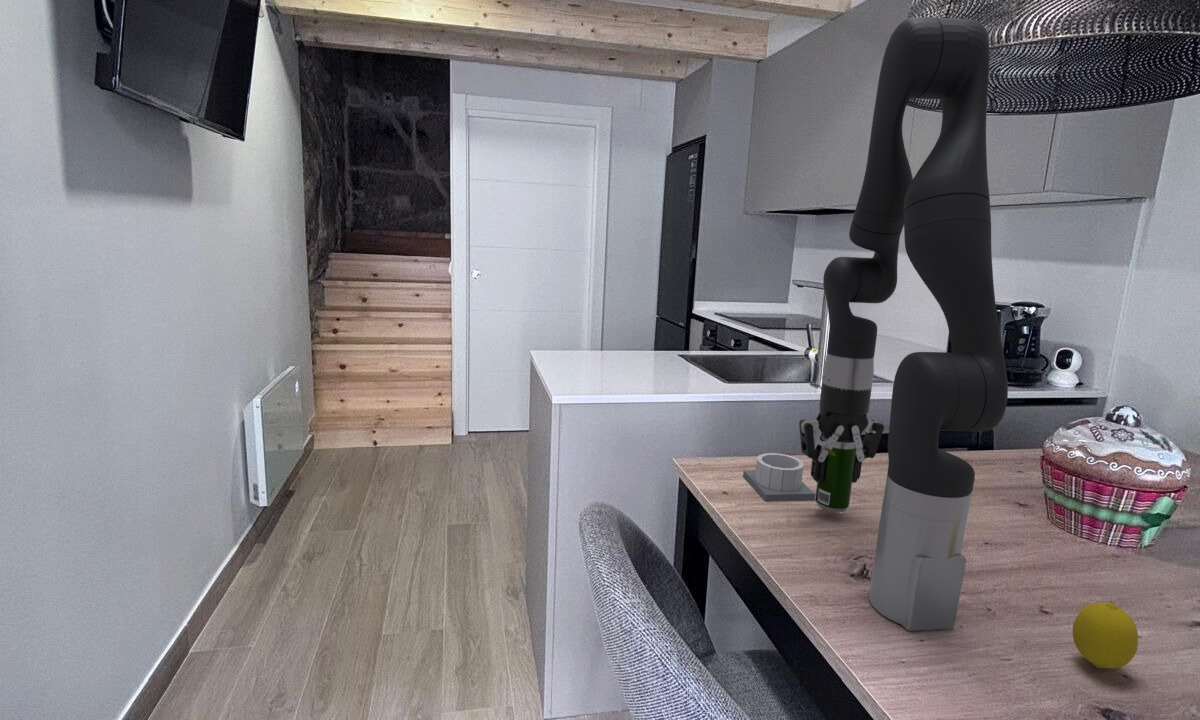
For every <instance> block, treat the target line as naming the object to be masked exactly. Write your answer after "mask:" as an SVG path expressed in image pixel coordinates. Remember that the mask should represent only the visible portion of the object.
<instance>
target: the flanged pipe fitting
mask: <svg viewBox="0 0 1200 720" xmlns="http://www.w3.org/2000/svg"><path fill="white" fill-rule="evenodd" d="M755 462H756V464H755V469H752V470H751V469H749V470H746V469H744V470H743V472H742V473H743V474H742V476H743V478H744V479H745V480H746V481H747V482H748V484H750V486H751V487H752V488H753V489H754V490H755V491H756V492H757V494H759V496H760V497H761V498H762V499H763V500H764V501H765V502H782V501H784V502H785V501H786V502H787V501H790V502H791V501H816V500H815V498H816V492H814V491H813V490H812V489H811V488H809V487H808V485H806V484H805V483H804V482H803V476H804V466H805V465H804V464H805V463H804V462H803V461H802V460H800V459H799V458H797V457H794V456H791V455H788V454H783V453H777V452H774V453H773V452H771V453H770V452H768V453H762V454H758V456H757V458H756V461H755Z"/></svg>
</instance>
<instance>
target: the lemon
mask: <svg viewBox="0 0 1200 720" xmlns="http://www.w3.org/2000/svg"><path fill="white" fill-rule="evenodd" d="M1072 625H1073V626H1072V638H1073V643H1074V645H1075V647H1076V649H1077V651H1078V652H1079V654H1081V656H1082V657H1083V658H1085V659H1086V660H1087V661H1088V662H1090V663H1091V665H1093V667H1094V666H1096V667H1098V668H1097V669H1103V668H1104V669H1105V668H1106V669H1119V668H1122V667H1124V666H1127V665H1128V664H1129V663H1130V662H1131V661H1132V660H1133V659H1134V657H1135V655H1137V651H1138V647H1139V632H1138V628H1137V625H1136V623H1135V621H1134V620H1133V618H1132V617H1131V616H1130V615H1129V613H1127V612H1126V611H1125V610H1123V609H1122V608H1120V607H1119V606H1118V605H1117V604H1116V603H1114V602H1101V601H1100V602H1092V603H1089V604H1088V605H1087V604H1086V605H1085V606H1084V607H1083V608H1081V610H1080V611H1079V612H1078V614H1077V615H1076V617H1075V619H1074V622H1073V624H1072ZM1096 667H1095V668H1096Z"/></svg>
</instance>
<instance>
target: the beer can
mask: <svg viewBox="0 0 1200 720" xmlns="http://www.w3.org/2000/svg"><path fill="white" fill-rule="evenodd" d="M827 441H828V440H827V439H826V438H824V439H823V442H825V443H826V442H827ZM855 456H856V445H855V441H853V442H852V440H839V441H835V445H834V446H833V447H832V450H831V451H829V452H828V455H827V457H826V459H825V460H824V462H825V470H824V478H823V483H817V482H816V490H815V500H814V501H815V503H816V506H818V507H819V509H822V510H824V511H827V512H831V513H832V512H833V513H843V512H845V511H847V510H848V508H849V507H850V502H851V493H852V486H853V483H852V479H853V472H854V464H855Z"/></svg>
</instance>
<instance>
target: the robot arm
mask: <svg viewBox="0 0 1200 720" xmlns="http://www.w3.org/2000/svg"><path fill="white" fill-rule="evenodd" d="M987 31H988V30H987V29H986V28H985V26H984V24H982V23H981V22H980V21H978V20H974V19H970V18H954V17H931V16H929V17H925V16H924V17H923V16H922V17H920V16H919V17H918V16H917V17H909V18H908V17H907V18H906V19H904V20H902V21H901V22H900V23H899V24H898V25H897V27H895V29H894V31H893V32H892V33H891V35H890V37H889V40H888V42H887V45H886V48H885V49H884V50H885V51H884V54H883V58H882V61H881V62H882V63H881V66H880V71H879V76H878V83H877V87H876V88H877V89H876V97H875V103H874V109H873V116H872V121H871V122H872V123H871V130H870V138H869V146H868V153H867V160H866V166H865V167H866V168H865V172H864V177H863V182H862V185H861V190H860V193H859V197H858V200H857V203H856V206H855V210H854V213H853V217H852V221H851V224H850V227H849V234H848V236H849V237H848V238H849V239H850V241H851V242H852V243H853V244H854V245H855V246H857V247H859V248H862V249H864V250H867V251H871V252H874V254H873V256H872V257H857V256H856V257H855V256H839V257H834V258H833V259H832V260H830V262H829V263H828V264H827V266H826V268H825V271H824V273H823V279H822V281H823V289H824V295H825V300H826V305H827V313H828V322H829V331H828V333H829V334H828V343H827V350H826V357H825V361H824V364H823V371H822V375H821V376H822V377H821V389H820V395H819V404H818V405H819V406H818V407H819V412H818V415H817V416H816V418H815V419H811V420H806V419H801V420H800V421H799V423H798V425H799V434H800V435H799V436H800V437H799V438H800V449H801V453H802V454H804V456H806V457H807V458H809V459H811V467H810V476H811V477H812V478H813V480H814V481H815V482H816V484H817V483H823V478H824V470H825V462H824V460H825V459H826V457H827V455H828V452H829V451H831V450H832V447H833V446H834V445H835V441H839V440H852V442H853V441H855V445H856V456H855V464H854V472H853V479H852V484H853V483H854V484H855V483H857V481H858V480H860V478H861V472H862V471H861V470H862V464H863V462H864V460H865V459H873V458H875V456H876V453H877V450H878V447H879V445H880V442H881V439H882V435H883V432H884V429H885V425H884V424H883V423H881V422H879V421H878V420H875V419H870V420H868V416H867V414H868V413H869V411H870V405H871V396H872V389H873V379H874V375H875V374H874V372H875V367H874V365H875V364H874V363H875V361H874V360H875V353H876V344H877V337H878V325H877V323H876V322H875V321H873V320H871V319H869V318H865V317H861V316H856V315H854V313H852V310H851V306H850V303H855V304H856V303H858V304H859V303H860V304H864V303H865V304H881V303H885V302H886V301H887V300H888V299H889V298H891V297H892V296H893V294H894V293H895V291H896V288H897V284H898V259H899V258H898V256H899V246H900V239H901V234H902V232H904V233H903V234H904V247H905V251H906V255H907V257H908V260H909V262H910V263H911V264H912V267H913V268H914V270H915V272H916V274H918V276H919V277H920V279H921V280H922V282H923V283H924V284H925V286H926V288H927V289H928V291H929V292H930V293H931V295H932V296H933V297H934V299H935V300H936V302H937V303H938V305H939V307H940V309H941V311H942V312H943V315H944V318H945V321H946V325H947V329H948V334H949V340H950V347H951V348H950V349H951V352H942V351H940V352H938V351H915V352H911V353H909V354H907V355H906V356H904V358H903V359H902V360H901V361H900V363H899V365H898V367H897V369H896V372H895V375H894V380H893V384H892V394H891V405H890V417H889V427H888V438H887V455H888V467H887V473H886V474H887V475H886V481H885V486H884V487H885V488H884V492H883V493H884V495H883V498H882V499H883V501H882V506H881V512H880V518H879V519H880V520H879V524H878V525H879V527H878V533H877V538H876V539H877V540H876V546H875V553H874V558H873V565H872V575H871V581H870V589H869V594H868V598H869V599H868V600H869V602H870V604H871V606H872V607H873V609H875V610H876V612H878V613H879V614H881V615H882V616H883V617H885V618H887V619H888V620H891V622H892V621H893V622H894V623H897V624H899V625H901V626H902V627H903V628H904V629H906V630H907V631H909V632H913V631H914V632H915V631H931V630H932V631H934V630H953V629H954V628H955V624H956V618H957V612H958V607H959V602H960V597H961V591H962V586H963V580H964V576H965V568H966V564H967V558H966V556H964V555H962V551H963V550H962V549H963V544H964V537H965V533H966V525H967V521H968V515H969V510H970V506H971V500H972V495H973V489H974V485H975V477H976V472H975V470H974V468H973V466H972V465H971V464H970V462H969V463H968V462H967V461H966V460H964V459H963V458H961V457H960V456H957V455H954V454H953V453H952V454H951V453H950V452H948V451H944V450H942V449H940V448H939V436H940V431H943V432H944V431H947V432H986V431H991V430H992V429H994V428H995V427H997V426H998V425H999V424H1000V422H1001V421H1002V420H1003V418H1004V415H1005V413H1006V409H1007V405H1008V395H1009V389H1008V388H1009V386H1008V385H1009V384H1008V374H1007V373H1008V372H1007V367H1006V366H1007V365H1006V359H1005V354H1004V347H1003V341H1002V336H1001V331H1000V324H999V317H998V311H997V305H996V296H995V286H994V271H993V258H992V257H993V253H992V219H991V201H990V200H991V199H990V198H991V197H990V188H989V179H988V176H989V175H988V160H987V158H988V157H987V109H988V95H989V94H988V92H989V91H988V90H989V76H990V41H989V36H988V32H987ZM909 99H913V100H914V99H915V100H916V99H917V100H918V99H919V100H938V101H939V102H940V104H941V113H942V114H941V115H942V117H941V126H940V127H941V128H940V133H939V136H938V138H937V139H936V142H935V145H934V146H933V148H932V150H931V151H930V153H929V154H928V156H927V157H926V158H925V159H924V162H923V163H922V165H921V166H920V168H919V169H918V171H917V172H916V173H915V175H914V177H913V173H912V169H911V166H910V162H909V159H908V156H907V152H906V147H905V143H904V138H903V137H904V136H903V120H904V116H905V111H906V109H907V104H908V101H909ZM817 429H819V431H820V432H819V434H818V436H817V438H816V439H815V436H814V435H815V434H817ZM864 431H865V435H864V438H863V441H862V438H861V434H862V433H863V432H864ZM824 438H826V439H827V440H828V441H827V442H826V443H825V442H823V439H824Z"/></svg>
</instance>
